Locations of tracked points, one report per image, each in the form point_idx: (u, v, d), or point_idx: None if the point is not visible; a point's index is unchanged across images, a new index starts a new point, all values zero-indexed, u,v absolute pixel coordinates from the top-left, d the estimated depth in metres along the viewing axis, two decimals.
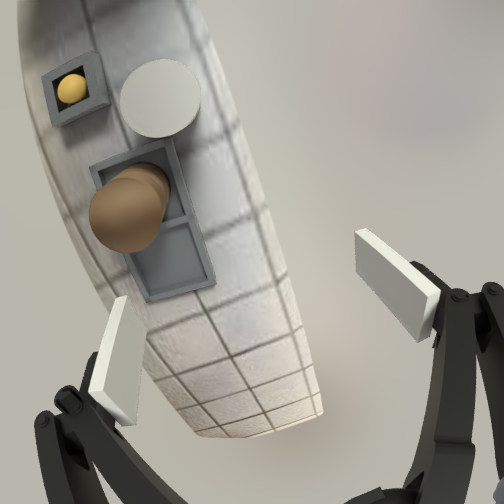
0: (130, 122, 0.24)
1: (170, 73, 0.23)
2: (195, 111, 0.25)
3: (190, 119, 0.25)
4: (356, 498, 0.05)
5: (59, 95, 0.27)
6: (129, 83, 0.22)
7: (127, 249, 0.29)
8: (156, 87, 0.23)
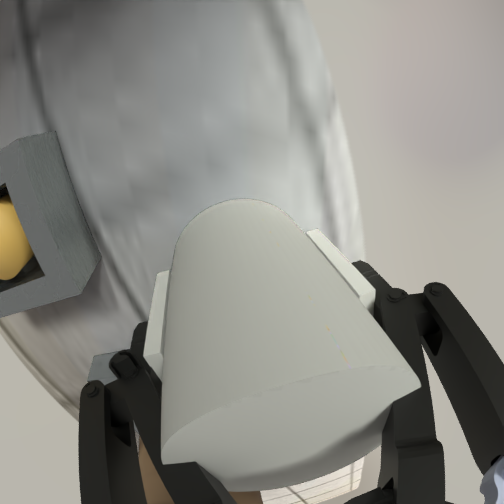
0: None
1: (355, 404, 0.06)
2: (379, 443, 0.08)
3: (362, 455, 0.09)
4: (356, 498, 0.05)
5: None
6: (190, 441, 0.06)
7: None
8: (295, 441, 0.07)
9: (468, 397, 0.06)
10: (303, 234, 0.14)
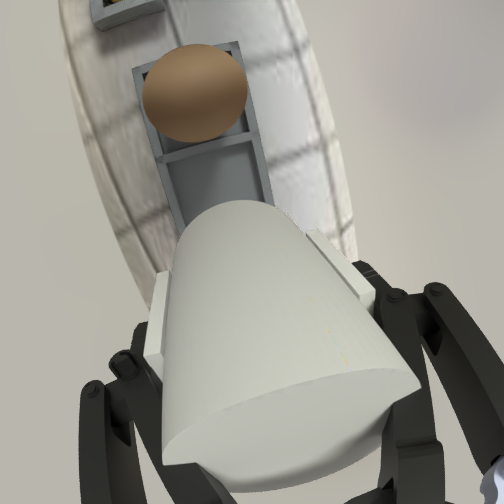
0: None
1: (355, 406, 0.06)
2: (380, 445, 0.08)
3: (363, 456, 0.09)
4: (356, 498, 0.05)
5: None
6: (191, 443, 0.06)
7: (192, 136, 0.20)
8: (296, 442, 0.07)
9: (468, 397, 0.06)
10: (303, 235, 0.14)
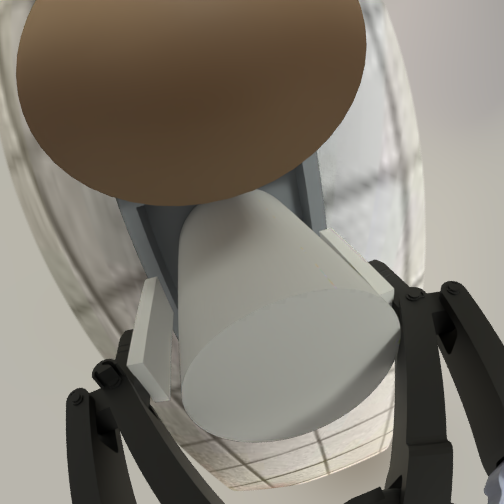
0: (220, 431, 0.09)
1: (344, 330, 0.08)
2: (371, 390, 0.11)
3: (357, 404, 0.11)
4: (356, 498, 0.05)
5: None
6: (210, 364, 0.08)
7: (176, 186, 0.06)
8: (297, 369, 0.09)
9: (479, 396, 0.06)
10: (294, 214, 0.16)
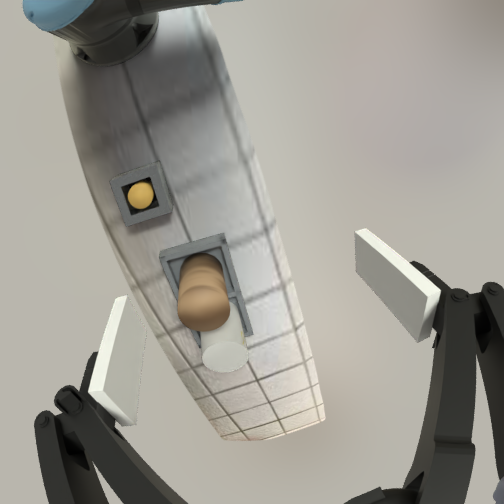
0: (209, 367, 0.48)
1: (231, 347, 0.47)
2: (245, 362, 0.49)
3: (242, 365, 0.50)
4: (356, 498, 0.05)
5: (130, 201, 0.42)
6: (207, 351, 0.47)
7: (204, 329, 0.44)
8: (223, 354, 0.47)
9: None
10: (233, 312, 0.54)
